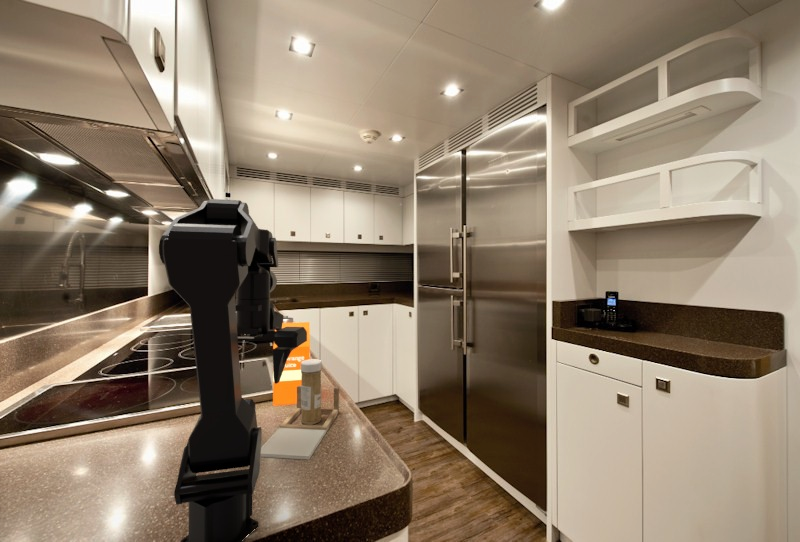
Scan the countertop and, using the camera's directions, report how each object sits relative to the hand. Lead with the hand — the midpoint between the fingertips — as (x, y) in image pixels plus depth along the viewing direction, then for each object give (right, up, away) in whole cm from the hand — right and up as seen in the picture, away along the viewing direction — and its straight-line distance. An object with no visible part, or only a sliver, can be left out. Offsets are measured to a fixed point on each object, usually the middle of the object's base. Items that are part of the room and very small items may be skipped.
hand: (253, 382), depth 61 cm
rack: (+7, -13, +12) cm, 19 cm away
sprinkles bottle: (+7, -13, +12) cm, 20 cm away
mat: (+7, -13, +3) cm, 15 cm away
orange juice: (-1, -13, +25) cm, 28 cm away
